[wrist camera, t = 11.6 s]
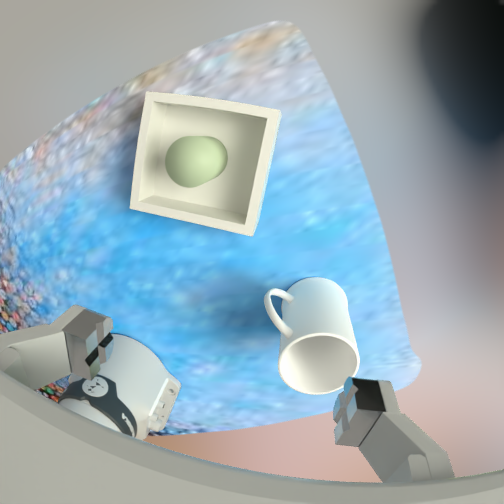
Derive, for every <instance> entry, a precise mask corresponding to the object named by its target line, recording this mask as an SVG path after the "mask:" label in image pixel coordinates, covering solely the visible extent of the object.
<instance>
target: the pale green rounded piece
mask: <svg viewBox="0 0 504 504" xmlns="http://www.w3.org/2000/svg"><path fill="white" fill-rule="evenodd" d="M227 161H228V154H227V150H226V148H225V146H224V145H223V143H222V142H221V141H219V140H218V139H216V138H214V137H211V136H185V137H182V138H179V139H177V140H176V141H175V142H173V143H172V145H171V146H170V147H169V149H168V151H167V153H166V157H165V167H166V171H167V173H168V175H169V177H170V178H171V179H172V180H173V181H174V182H175V183H176V184H178V185H180V186H182V187H187V188H193V187H197V186H200V185H202V184H204V183H206V182H208V181H210V180H212V179H214V178H216V177H217V176H219V175H220V174H221V173H222V172H223V171H224V169H225V168H226V165H227Z"/></svg>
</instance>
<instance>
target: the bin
mask: <svg viewBox="0 0 504 504" xmlns="http://www.w3.org/2000/svg"><path fill="white" fill-rule="evenodd" d="M281 116H282V114H281V112H280V110H276V109H271V108H266V107H261V106H255V105H250V104H244V103H238V102H232V101H226V100H219V99H212V98H205V97H197V96H189V95H180V94H170V93H159V92H146V96H145V102H144V107H143V113H142V118H141V124H140V130H139V137H138V143H137V150H136V157H135V165H134V173H133V181H132V190H131V200H130V209H134V210H138V211H143V212H147V213H152V214H156V215H161V216H165V217H170V218H174V219H178V220H183V221H187V222H192V223H196V224H200V225H205V226H209V227H213V228H218V229H222V230H226V231H231V232H235V233H239V234H244V235H248V236H252V237H253V234H254V232H255V230H256V227H257V225H258V221H259V217H260V212H261V208H262V203H263V199H264V194H265V189H266V185H267V180H268V176H269V171H270V166H271V162H272V157H273V153H274V148H275V143H276V139H277V134H278V130H279V125H280V120H281ZM185 136H211V137H214V138H216V139H218V140H219V141H221V142H222V143H223V145H224V146H225V148H226V150H227V154H228V161H227V165H226V168H225V169H224V171H223V172H222V173H221V174H220V175H219V176H217V177H216V178H214V179H212V180H210V181H208V182H206V183H204V184H202V185H200V186H197V187H193V188H187V187H182V186H180V185H178V184H176V183H175V182H174V181H173V180H172V179H171V178H170V177H169V175H168V173H167V171H166V167H165V157H166V153H167V151H168V149H169V147H170V146H171V145H172V143H173V142H175V141H176V140H177V139H179V138H182V137H185Z"/></svg>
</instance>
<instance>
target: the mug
mask: <svg viewBox="0 0 504 504" xmlns="http://www.w3.org/2000/svg"><path fill="white" fill-rule="evenodd" d="M271 295H276V296H279V297H281V298H283V300H282V305H281V310H282V320H281V318H280V317H279V316H278V314H277V313H276V311H275V309H274V307H273V305H272V303H271ZM264 304H265V308H266V311H267V313H268V315H269V317H270V318H271V320H272V322H273V323H274V324H275V326H276V327H277V328H278V329H279V331H280V332H281V338H280V348H279V358H278V370H279V374H280V376H281V378H282V379H283V381H284V382H285V383H286V384H287V385H288V386H289V387H291V388H292V389H294V390H296V391H299V392H302V393H306V394H315V395H316V394H326V393H330V392H333V391H336V390H338V389H340V388H342V387H344V383H345V381H346V379H347V378H348V377H349V376H350V377H354V376H355V375H356V373H357V371H358V368H359V362H360V359H359V353H358V349H357V345H356V340H355V336H354V332H353V328H352V324H351V321H350V317H349V313H348V309H347V308H348V303H347V298H346V295H345V293H344V291H343V290H342V288H341V287H340V286H339V285H338V284H336V283H335V282H333V281H331V280H329V279H326V278H321V277H310V278H306V279H303V280H300V281H298V282H296V283H295V284H293V285H292V286H291V287H290V288H289V289H288V290H287V292H285V291H283V290H281V289H276V288H274V289H270V290H269V291H268V292H267V293H266V294H265V297H264Z"/></svg>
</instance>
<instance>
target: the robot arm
mask: <svg viewBox="0 0 504 504" xmlns="http://www.w3.org/2000/svg"><path fill="white" fill-rule="evenodd" d="M112 329H113V321H112V319H111V318H110V317H108V316H105V315H103V314H100V313H98V312H95V311H92V310H90V309H87V308H84V307H82V306H79V305H73V306H72V307H70V308H69V309H68V310H67V311H66V312H64V313H63V314H62V315H61V316H60V317H58V318H57V319H56V320H55V321H54V322H53V323H51V324H50V325H48V324H43V325H39V326H34V327H30V328H25V329H21V330H16V331H12V332H7V333H3V334H0V504H504V469H503V470H498V471H493V472H488V473H483V474H477V475H472V476H464V477H457V478H455V476H454V472H453V469H452V466H451V463H450V460H449V457H448V454H447V452H446V451H445V450H444V449H443V448H441V447H440V446H439V445H438V444H437V443H436V442H435V441H434V440H433V439H431V438H430V437H429V436H428V435H427V434H426V433H425V432H424V431H423V430H422V429H420V428H419V427H418V426H417V425H416V424H415V423H414V422H413V421H412V420H411V419H410V418H408V417H407V416H406V415H405V414H401V413H400V409H399V406H398V403H397V399H396V396H395V393H394V390H393V387H392V384H391V382H390V381H384V380H371V379H364V378H357V377H350V376H349V377H348V378H347V379H346V381H345V383H344V391H343V392H342V393H340V394H339V395H338V397H337V399H336V401H335V405H334V410H333V420H334V421H335V422H336V423H337V426H336V427H335V429H334V433H335V444H337V445H346V446H354V447H359V450H360V451H361V452H362V454H363V455H364V457H365V458H366V460H367V461H368V462H369V464H370V465H371V467H372V468H373V469H374V471H375V472H376V474H377V475H378V476H379V478H380V479H381V481H382V482H383V483H364V482H339V481H325V480H314V479H304V478H296V477H288V476H281V475H274V474H268V473H262V472H256V471H251V470H246V469H241V468H236V467H232V466H227V465H223V464H219V463H214V462H210V461H206V460H202V459H199V458H195V457H192V456H188V455H185V454H181V453H178V452H175V451H172V450H168V449H165V448H162V447H159V446H156V445H153V444H150V443H147V442H144V441H142V440H143V439H145V438H146V437H147V435H148V433H149V431H150V430H154V431H156V432H158V431H159V430H163V429H164V427H165V425H166V423H167V420H168V418H169V415H170V413H171V411H172V408H173V406H174V403H175V401H176V398H177V396H178V394H179V391H180V389H181V383H180V382H179V381H178V380H177V379H176V378H175V377H174V376H172V375H171V374H170V373H169V372H168V371H167V370H166V369H165V367H164V365H163V364H162V362H161V361H160V360H159V358H158V357H157V356H156V355H155V354H154V353H153V352H152V351H151V350H150V349H148V348H147V347H146V346H144V345H143V344H141V343H140V342H138V341H136V340H134V339H132V338H130V337H127V336H123V335H119V334H111V333H110V331H111V330H112ZM71 373H72V374H71ZM70 374H71V375H70ZM68 375H70V377H69V380H68V381H69V386H68V387H67V388H66V389H65V390H64V391H63V393H62V394H61V397H60V398H59V400H58V403H56V402H54V401H52V400H50V399H48V398H46V397H45V396H43V395H41V394H39V393H37V392H36V391H34V390H37V389H39V388H41V387H43V386H46V385H48V384H50V383H52V382H55V381H57V380H59V379H61V378H64V377H66V376H68Z"/></svg>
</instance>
